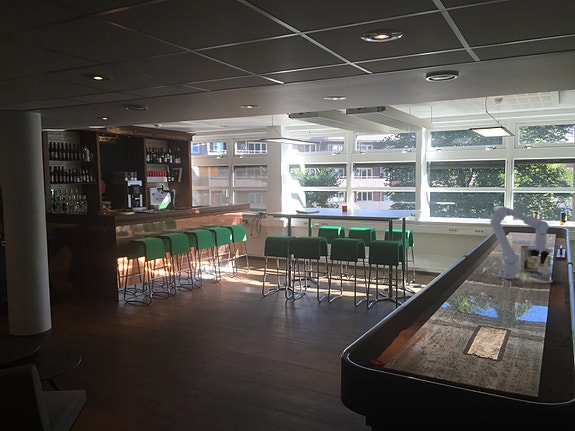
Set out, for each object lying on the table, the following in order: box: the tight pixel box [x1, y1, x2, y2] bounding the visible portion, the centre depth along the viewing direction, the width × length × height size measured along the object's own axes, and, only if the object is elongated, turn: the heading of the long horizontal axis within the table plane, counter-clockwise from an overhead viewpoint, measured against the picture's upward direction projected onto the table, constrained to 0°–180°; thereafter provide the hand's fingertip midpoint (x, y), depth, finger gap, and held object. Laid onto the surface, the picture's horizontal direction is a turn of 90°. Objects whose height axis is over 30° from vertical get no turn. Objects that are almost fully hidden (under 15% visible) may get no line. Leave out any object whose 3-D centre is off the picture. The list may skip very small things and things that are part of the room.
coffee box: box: [519, 245, 539, 272], centre depth 299 cm, size 9×6×16 cm
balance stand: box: [527, 273, 553, 284], centre depth 267 cm, size 8×10×3 cm
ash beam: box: [528, 255, 552, 268], centre depth 273 cm, size 16×4×6 cm, turn 117°
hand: (539, 263), depth 273 cm, fingers closed on ash beam, 3 cm apart
